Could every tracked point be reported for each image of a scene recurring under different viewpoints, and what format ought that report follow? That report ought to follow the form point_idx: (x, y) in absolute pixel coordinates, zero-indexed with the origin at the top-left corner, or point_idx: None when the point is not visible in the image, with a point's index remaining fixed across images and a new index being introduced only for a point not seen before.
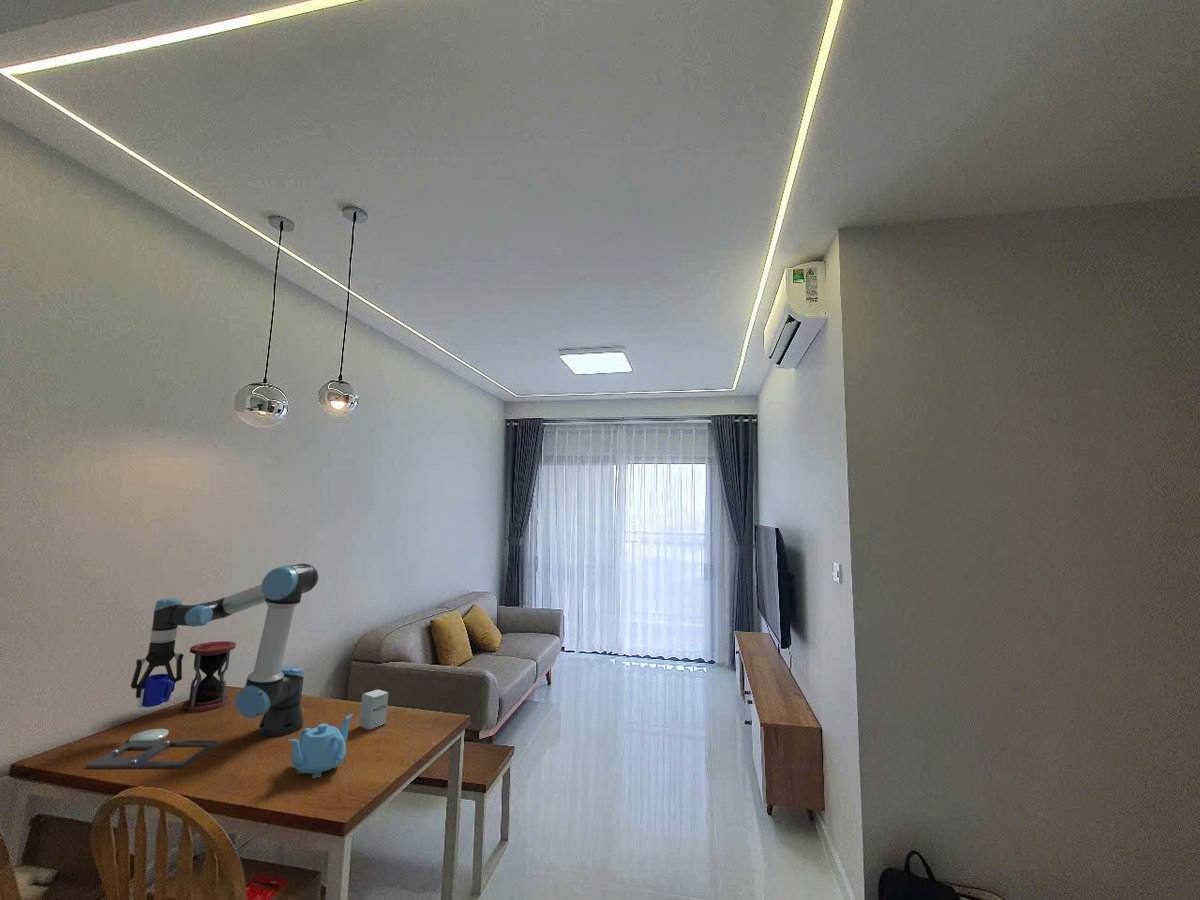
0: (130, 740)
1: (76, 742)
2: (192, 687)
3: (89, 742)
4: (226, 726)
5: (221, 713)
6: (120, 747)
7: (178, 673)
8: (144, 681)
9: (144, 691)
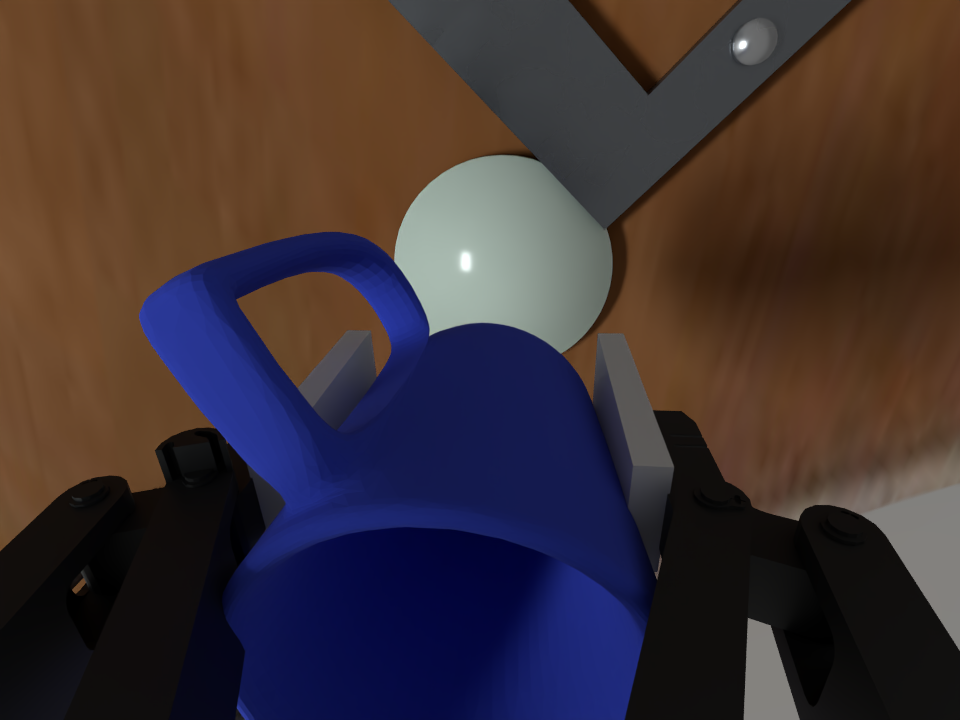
0: (610, 248)
1: (813, 469)
2: (238, 714)
3: (769, 422)
4: (55, 108)
5: (123, 395)
6: (697, 128)
7: (19, 594)
8: (682, 585)
9: (609, 461)
